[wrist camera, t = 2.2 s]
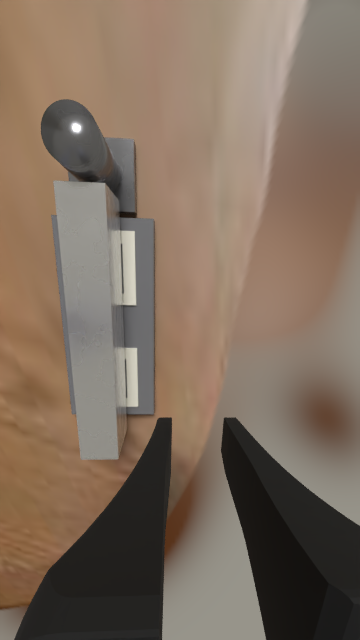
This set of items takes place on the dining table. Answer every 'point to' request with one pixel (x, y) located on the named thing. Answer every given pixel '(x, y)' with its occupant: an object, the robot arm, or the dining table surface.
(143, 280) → the label board
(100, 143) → the grey joystick
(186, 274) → the dining table surface
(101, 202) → the swing arm
